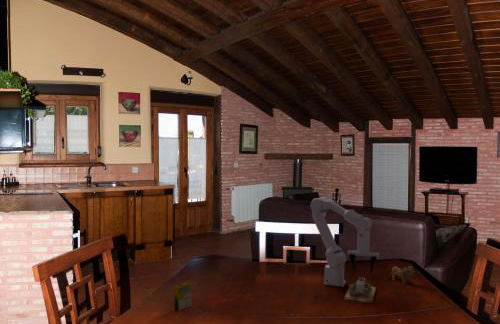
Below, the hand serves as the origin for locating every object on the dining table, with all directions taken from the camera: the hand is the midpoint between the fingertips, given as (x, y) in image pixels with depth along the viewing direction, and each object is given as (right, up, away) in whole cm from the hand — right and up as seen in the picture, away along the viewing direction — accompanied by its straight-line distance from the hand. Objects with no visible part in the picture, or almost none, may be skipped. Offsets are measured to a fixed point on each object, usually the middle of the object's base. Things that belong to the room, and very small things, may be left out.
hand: (362, 271), depth 202 cm
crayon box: (-82, -10, -21) cm, 86 cm away
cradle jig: (-2, -10, -5) cm, 11 cm away
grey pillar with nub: (-2, -8, -5) cm, 10 cm away
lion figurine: (+24, -9, +14) cm, 29 cm away
